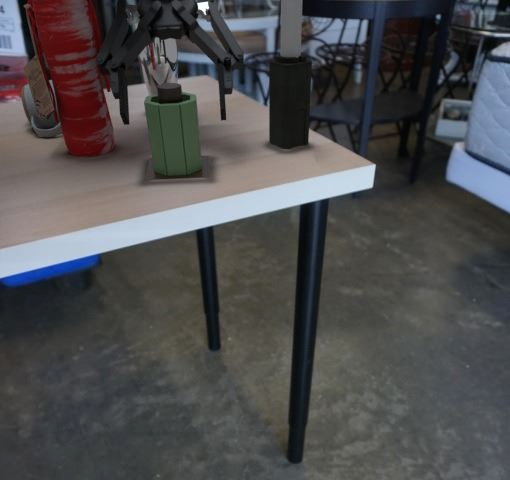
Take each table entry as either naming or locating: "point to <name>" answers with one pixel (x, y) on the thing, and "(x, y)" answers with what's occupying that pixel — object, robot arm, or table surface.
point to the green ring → (174, 135)
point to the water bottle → (70, 74)
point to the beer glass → (159, 63)
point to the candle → (290, 83)
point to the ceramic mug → (34, 118)
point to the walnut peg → (170, 95)
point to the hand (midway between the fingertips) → (174, 117)
